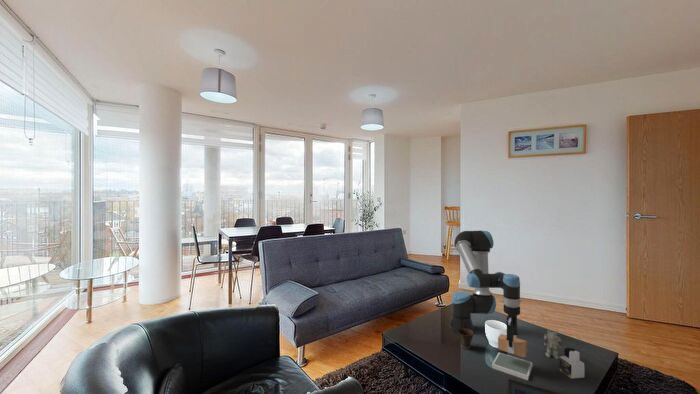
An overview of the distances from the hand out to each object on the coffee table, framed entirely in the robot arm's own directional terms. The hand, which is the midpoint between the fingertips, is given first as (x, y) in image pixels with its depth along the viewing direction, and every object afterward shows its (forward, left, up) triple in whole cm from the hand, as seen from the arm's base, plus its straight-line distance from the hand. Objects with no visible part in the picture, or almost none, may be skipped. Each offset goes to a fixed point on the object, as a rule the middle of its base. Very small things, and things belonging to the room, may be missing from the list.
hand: (512, 350), depth 149 cm
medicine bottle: (+24, +12, -9) cm, 28 cm away
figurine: (+15, +24, -9) cm, 30 cm away
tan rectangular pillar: (0, 0, -1) cm, 1 cm away
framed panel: (0, 0, -9) cm, 9 cm away
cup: (-25, +5, -9) cm, 27 cm away
